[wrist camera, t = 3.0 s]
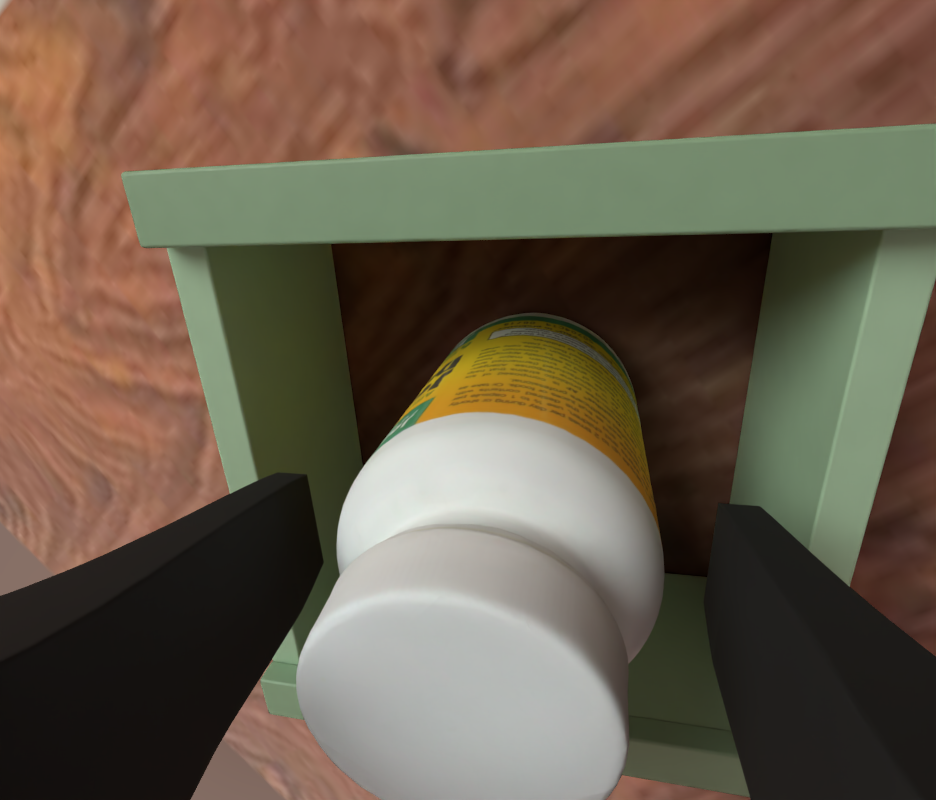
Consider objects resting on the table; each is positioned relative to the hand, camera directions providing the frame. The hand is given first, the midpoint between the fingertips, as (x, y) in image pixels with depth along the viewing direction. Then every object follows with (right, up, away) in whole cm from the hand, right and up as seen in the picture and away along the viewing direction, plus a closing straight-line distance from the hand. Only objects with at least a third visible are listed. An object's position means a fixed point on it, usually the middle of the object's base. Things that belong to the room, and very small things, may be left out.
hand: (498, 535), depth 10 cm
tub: (+1, +2, +5) cm, 6 cm away
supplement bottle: (+1, +2, +5) cm, 6 cm away
